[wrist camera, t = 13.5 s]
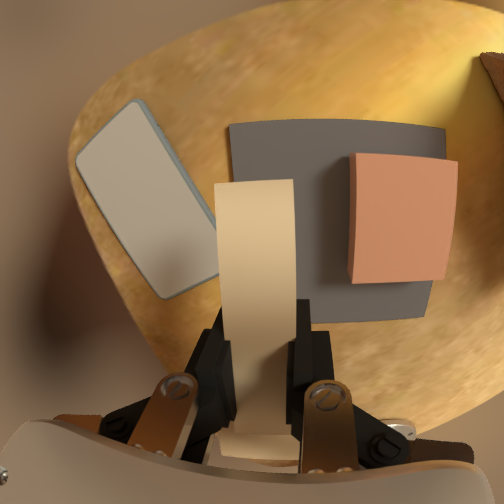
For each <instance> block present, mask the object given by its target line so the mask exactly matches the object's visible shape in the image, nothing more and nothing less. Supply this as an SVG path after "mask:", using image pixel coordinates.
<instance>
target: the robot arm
mask: <svg viewBox="0 0 504 504" xmlns="http://www.w3.org/2000/svg"><path fill="white" fill-rule="evenodd" d="M236 414H237V406H236V396H235V386H234V375H233V364H232V352H231V340H225V338H224V327H223V315H222V306H221V308H220V310H219V313H218V315H217V317H216V320H215V322H214V324H213V327H212V329H204V330H203V332H202V334H201V336H200V338H199V340H198V342H197V345H196V347H195V349H194V351H193V353H192V356H191V358H190V360H189V362H188V364H187V366H186V369H185V371H184V372H177V373H172V374H169V375H167V376H165V377H164V378H163V379H161V380H160V382H159V383H158V384H157V387H156V388H155V390H154V392H153V394H152V396H151V397H148V398H146V399H143V400H141V401H139V402H136V403H134V404H131V405H129V406H126V407H124V408H121V409H118V410H116V411H113V412H111V413H109V414H107V415H106V416H105V417H104V418H103V417H102V416H101V415H71V414H62V415H58V416H56V417H54V418H53V419H35V420H30V421H27V422H26V423H24V424H23V425H22V426H20V427H19V428H18V429H17V431H16V432H15V433H14V434H13V435H12V437H11V438H10V439H9V440H8V442H7V443H6V445H5V446H4V448H3V449H2V451H1V452H0V504H495V501H494V497H493V494H492V490H491V487H490V485H489V482H488V480H487V478H486V476H485V474H484V473H483V472H482V470H481V469H480V468H479V467H477V466H476V465H474V451H473V449H472V448H471V446H469V445H468V444H466V443H462V442H449V441H437V440H427V439H419V438H416V429H415V426H414V424H412V423H411V422H409V421H406V420H399V419H390V420H381V421H379V420H378V419H376V418H375V417H373V416H371V415H370V414H368V413H366V412H365V411H363V410H362V409H360V408H358V407H357V406H355V405H354V404H352V397H351V393H350V390H349V389H348V388H347V387H346V385H344V384H342V383H341V382H338V381H335V379H334V369H333V360H332V351H331V343H330V335H329V331H311V315H310V299H296V338H295V341H288V356H287V371H286V425H291V435H292V436H293V437H294V438H296V439H297V440H298V441H299V442H300V443H299V460H298V474H287V473H285V474H283V473H266V472H253V471H242V470H234V469H227V468H220V467H213V466H207V462H208V459H209V456H210V452H211V449H212V445H213V442H214V439H215V433H216V432H218V431H220V430H221V429H222V427H223V428H228V427H229V423H230V421H235V418H236ZM415 438H416V439H415ZM414 439H415V440H414Z"/></svg>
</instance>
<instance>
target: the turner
mask: <svg viewBox="0 0 504 504" xmlns="http://www.w3.org/2000/svg"><path fill="white" fill-rule="evenodd" d="M214 190H215V212H216V230H217V247H218V263H219V277H220V290H221V303H222V315H223V327H224V338H225V340H231V352H232V364H233V375H234V386H235V396H236V406H237V414H236V418H235V421H230V423H229V427H228V428H223V427H222V429H221V430H220V431H218V437H219V443H220V448H221V453H222V455H224V456H232V457H242V458H254V459H273V460H299V443H300V442H299V441H298V440H297V439H296V438H294V437H293V436H292V435H291V425H286V371H287V356H288V341H295V338H296V245H295V213H294V190H293V179H283V180H261V181H244V182H230V183H217V184H214Z"/></svg>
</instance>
